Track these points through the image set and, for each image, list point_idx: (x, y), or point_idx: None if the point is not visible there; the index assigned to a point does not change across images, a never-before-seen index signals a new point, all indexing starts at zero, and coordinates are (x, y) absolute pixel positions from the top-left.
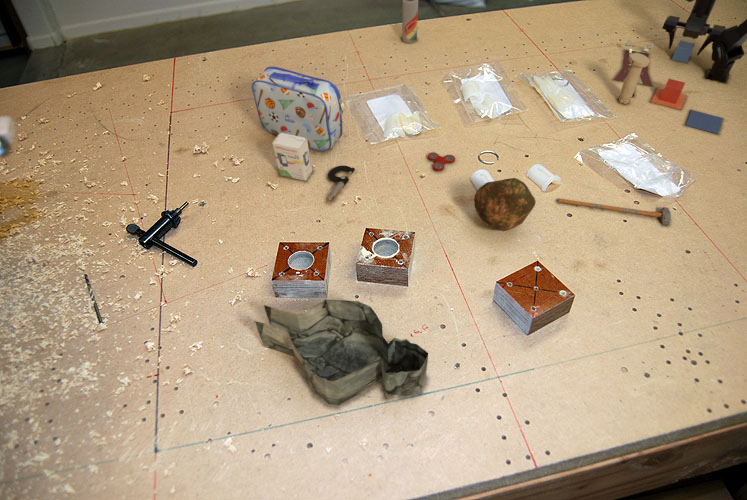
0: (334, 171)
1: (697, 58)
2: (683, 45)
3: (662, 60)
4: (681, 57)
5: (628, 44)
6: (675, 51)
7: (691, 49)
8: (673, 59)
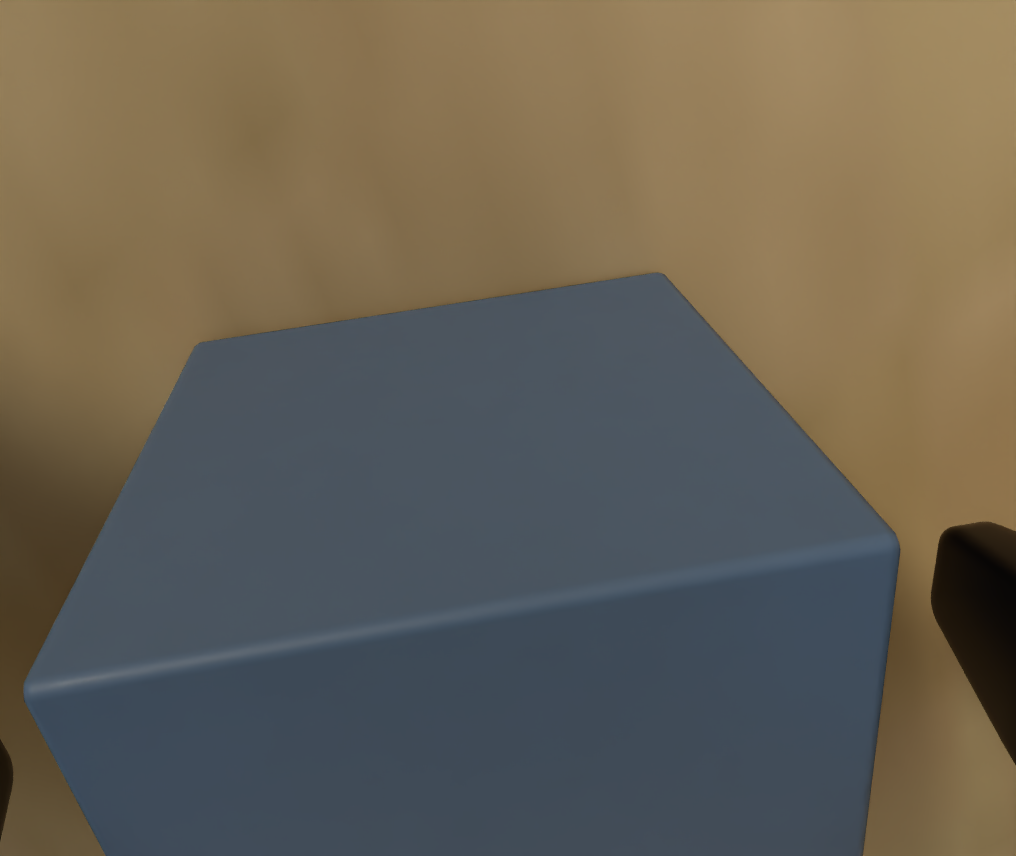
0: None
1: None
2: (621, 782)
3: (917, 28)
4: (414, 368)
5: None
6: (758, 401)
7: (79, 678)
8: (615, 286)
